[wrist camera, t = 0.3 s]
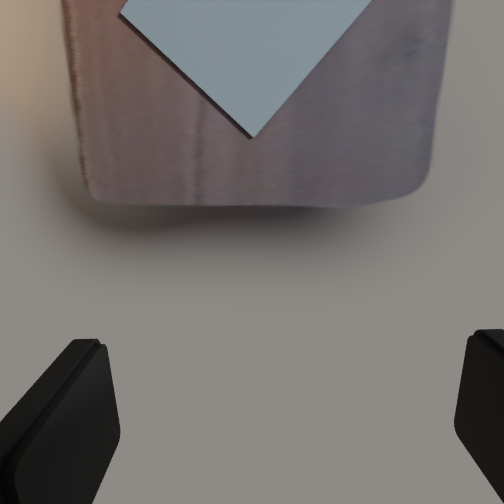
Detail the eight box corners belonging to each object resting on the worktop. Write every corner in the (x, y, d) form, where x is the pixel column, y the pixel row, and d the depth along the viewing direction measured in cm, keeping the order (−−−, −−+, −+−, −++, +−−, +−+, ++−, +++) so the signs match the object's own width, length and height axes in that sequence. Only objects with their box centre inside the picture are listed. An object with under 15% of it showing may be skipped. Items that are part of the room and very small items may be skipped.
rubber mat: (238, -156, 30) (238, -161, 29) (373, -3, 33) (375, -5, 33) (121, 14, 33) (119, 12, 33) (253, 137, 37) (253, 137, 36)
